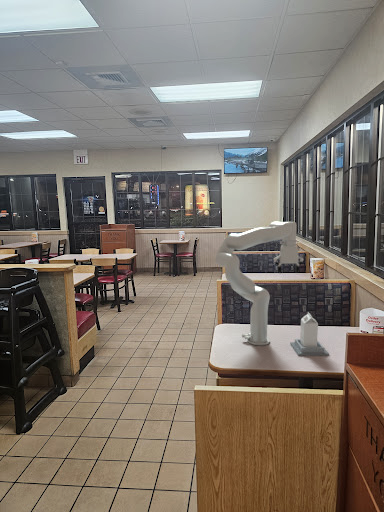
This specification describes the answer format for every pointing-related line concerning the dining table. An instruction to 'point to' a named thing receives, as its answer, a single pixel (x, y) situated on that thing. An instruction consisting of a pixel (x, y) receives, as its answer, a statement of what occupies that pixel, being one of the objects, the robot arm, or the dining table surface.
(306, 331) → the milk carton
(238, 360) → the dining table surface
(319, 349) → the carton tray
